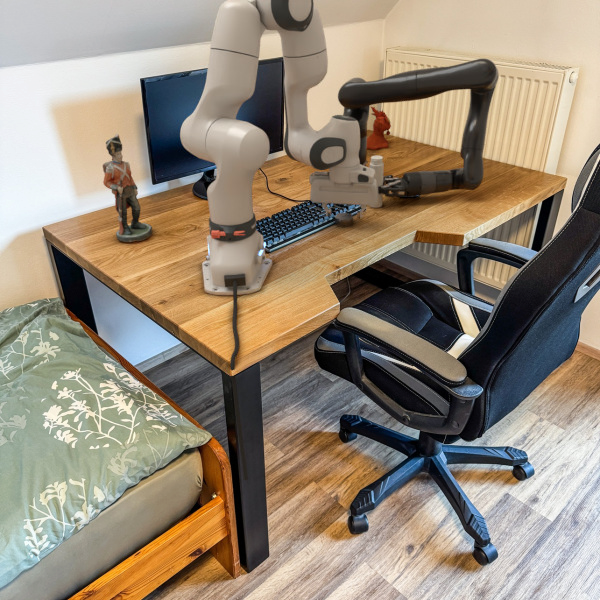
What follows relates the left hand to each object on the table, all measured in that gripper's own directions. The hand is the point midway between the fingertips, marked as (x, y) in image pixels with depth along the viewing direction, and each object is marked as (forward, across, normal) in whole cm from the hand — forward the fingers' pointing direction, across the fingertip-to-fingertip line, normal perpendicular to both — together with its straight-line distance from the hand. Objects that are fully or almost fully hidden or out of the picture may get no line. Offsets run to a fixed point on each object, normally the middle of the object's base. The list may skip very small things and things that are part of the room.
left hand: (344, 216), depth 170 cm
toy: (+2, 0, +79) cm, 79 cm away
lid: (0, 0, 0) cm, 0 cm away
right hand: (-4, +6, +14) cm, 16 cm away
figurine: (+2, -61, -17) cm, 63 cm away
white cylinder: (+2, +8, +15) cm, 17 cm away
